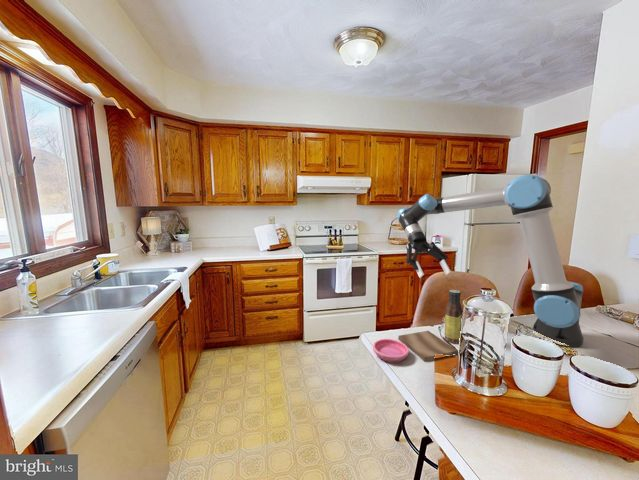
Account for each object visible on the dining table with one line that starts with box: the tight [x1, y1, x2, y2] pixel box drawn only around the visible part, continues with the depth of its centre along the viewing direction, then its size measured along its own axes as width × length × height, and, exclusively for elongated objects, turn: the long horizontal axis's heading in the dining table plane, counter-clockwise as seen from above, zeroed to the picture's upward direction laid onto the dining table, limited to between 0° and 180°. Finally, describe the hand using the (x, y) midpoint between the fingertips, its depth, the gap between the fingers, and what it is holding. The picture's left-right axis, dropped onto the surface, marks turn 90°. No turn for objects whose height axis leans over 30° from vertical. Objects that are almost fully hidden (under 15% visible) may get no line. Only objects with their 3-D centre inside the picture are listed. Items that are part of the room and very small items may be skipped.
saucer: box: [372, 338, 410, 363], centre depth 97 cm, size 12×12×3 cm
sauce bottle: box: [444, 289, 464, 344], centre depth 105 cm, size 7×6×20 cm
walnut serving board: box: [397, 330, 459, 362], centre depth 102 cm, size 14×16×2 cm
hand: (435, 275), depth 115 cm, fingers open, 13 cm apart
